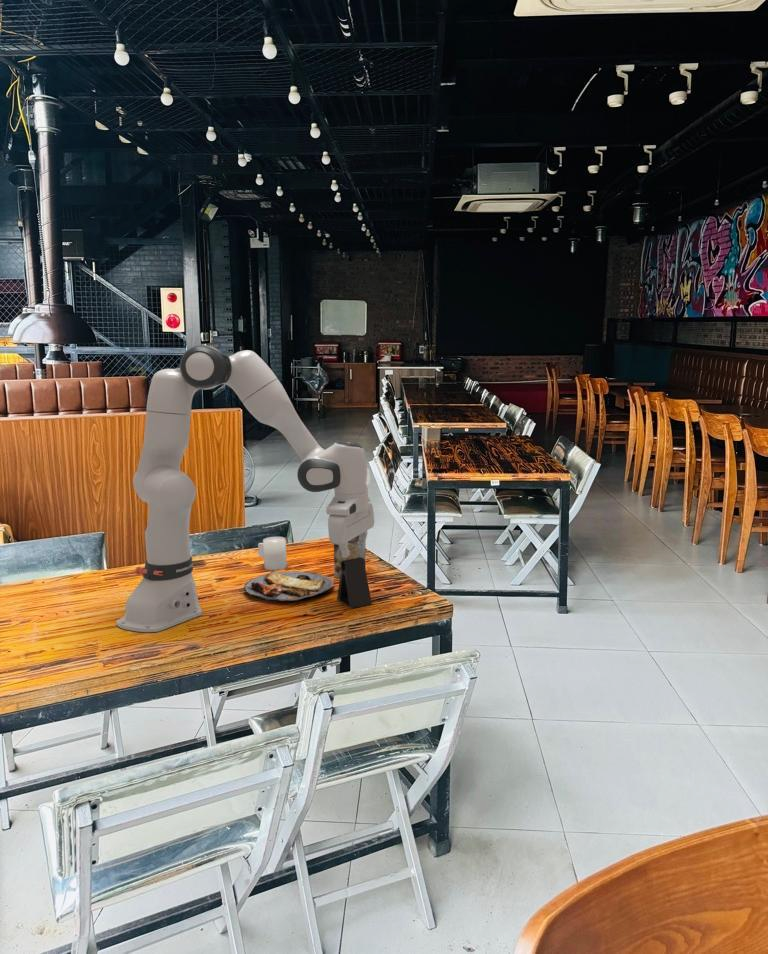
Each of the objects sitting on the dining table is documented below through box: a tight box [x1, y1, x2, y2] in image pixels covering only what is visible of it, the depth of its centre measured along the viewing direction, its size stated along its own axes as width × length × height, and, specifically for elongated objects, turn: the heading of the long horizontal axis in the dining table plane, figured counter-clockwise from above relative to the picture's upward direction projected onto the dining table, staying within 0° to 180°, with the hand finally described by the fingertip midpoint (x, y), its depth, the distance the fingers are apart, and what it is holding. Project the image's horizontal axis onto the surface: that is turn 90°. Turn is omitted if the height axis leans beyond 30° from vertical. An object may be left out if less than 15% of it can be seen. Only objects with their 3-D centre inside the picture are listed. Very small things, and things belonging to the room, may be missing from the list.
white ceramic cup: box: [257, 536, 288, 571], centre depth 239 cm, size 7×9×9 cm
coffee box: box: [333, 535, 367, 579], centre depth 228 cm, size 9×6×16 cm
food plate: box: [243, 570, 334, 602], centre depth 217 cm, size 25×23×4 cm
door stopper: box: [336, 557, 373, 609], centre depth 205 cm, size 9×6×12 cm, turn 30°
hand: (354, 552), depth 204 cm, fingers open, 8 cm apart
